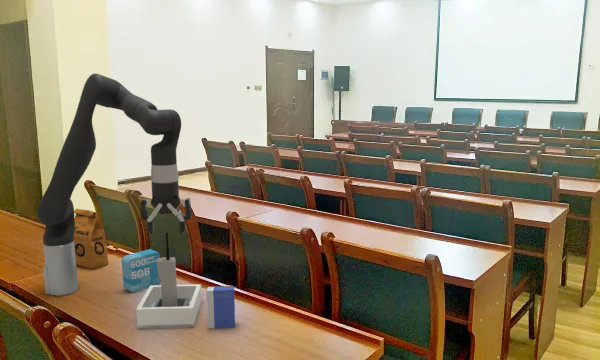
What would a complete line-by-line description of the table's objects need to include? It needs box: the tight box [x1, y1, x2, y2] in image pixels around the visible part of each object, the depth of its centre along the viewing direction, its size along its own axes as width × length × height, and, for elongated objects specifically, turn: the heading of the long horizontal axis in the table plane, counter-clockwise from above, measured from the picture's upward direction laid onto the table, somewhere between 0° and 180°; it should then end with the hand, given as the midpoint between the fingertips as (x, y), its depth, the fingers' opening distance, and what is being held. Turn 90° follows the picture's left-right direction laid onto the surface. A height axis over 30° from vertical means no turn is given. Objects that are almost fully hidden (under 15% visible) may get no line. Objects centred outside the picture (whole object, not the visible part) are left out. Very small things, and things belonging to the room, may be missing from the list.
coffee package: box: [74, 208, 109, 270], centre depth 188 cm, size 10×12×22 cm
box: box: [135, 283, 202, 330], centre depth 149 cm, size 16×17×6 cm
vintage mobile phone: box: [157, 232, 178, 307], centre depth 147 cm, size 4×5×25 cm
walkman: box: [205, 284, 236, 329], centre depth 142 cm, size 8×3×12 cm, turn 96°
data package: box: [121, 248, 161, 293], centre depth 169 cm, size 12×4×12 cm, turn 137°
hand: (167, 233), depth 145 cm, fingers open, 8 cm apart
